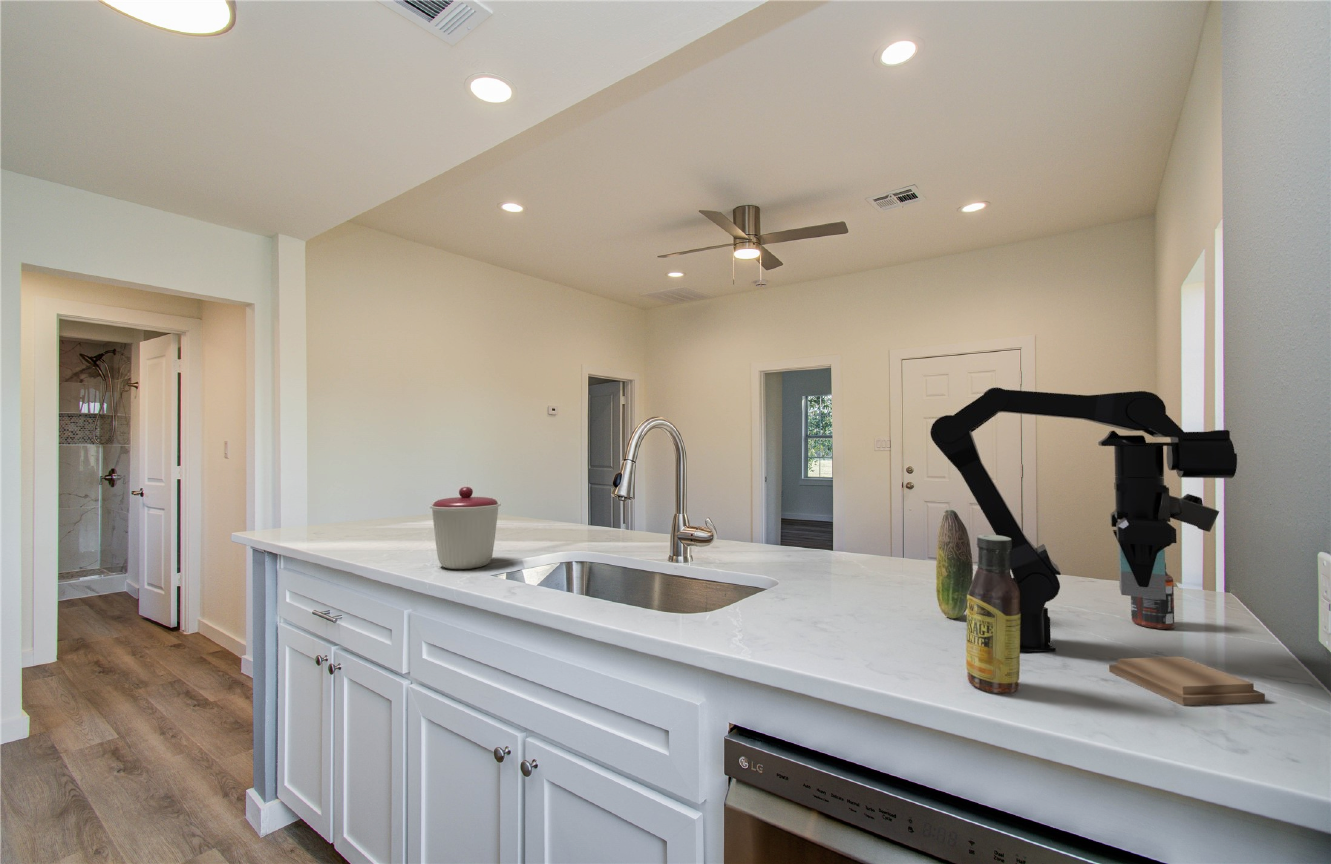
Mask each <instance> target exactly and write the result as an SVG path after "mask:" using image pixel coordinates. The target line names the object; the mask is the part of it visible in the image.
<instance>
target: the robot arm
mask: <svg viewBox="0 0 1331 864" xmlns="http://www.w3.org/2000/svg"><path fill="white" fill-rule="evenodd" d="M1166 406H1167V405H1165V402H1164V400H1162V399H1161V397H1160V396H1159V395H1157V394H1155V393H1154V392H1150V391H1146V390H1139V391H1138V390H1136V391H1135V390H1134V391H1123V392H1112V393H1111V392H1110V393H1100V394H1088V395H1087V394H1085V395H1084V394H1071V393H1062V392H1060V393H1059V392H1043V391H1033V390H1032V391H1029V390H1017V389H1004V388H1001V387H997V386H996V387H991V388H989V389H987V390H986V391H984V393H983V394H981V395H980V396H979V397H978V398H976V399H974V400H973V401H972V402H971V403H969V404H967V405H966V406H964V407H962V408H961V409H960V410H958V411H957V412H956V413H954V414H947V415H943V416H940V417H939V418H937V419H935V421H934V422H933V423H932V424H931V428H930V431H929V432H930V439H931V440H932V442H933V443H934V445H935V446H936V447H937V448H938V449H939V451H940V452H941V453H942V454H943V455H944V457H945V458H947V460H948V461H949V462H950V463H951V464H952V465H953V466H954V467H955V468H956V470H957V471H958V472H959V473H960V474H961V476H962V479H963V480H964V482H965V483H966V485H967V487H968V488H969V491H970V493H971V494H972V496H973V498H974V499H975V501H976V502H977V505H978V506H979V508H980V510H981V512H982V513H983V514H984V515H983V516H984V517H985V519H986V520H987V522H988V524H989V525H990V527H991V528H992V530H993V532H994V535H999V536H1005V537H1009V538H1011V539H1012V549H1011V551H1010V567H1011V569H1010V573H1011V575H1012V579H1013V580H1014V582H1015V583H1016V585H1017V587H1018V588H1019V593H1020V602H1019V604H1020V608H1019V611H1020V653H1021V652H1022V653H1025V652H1027V653H1028V652H1050V651H1051V652H1053V651H1054V652H1056V651H1057V647H1056V646H1054V645H1052V644H1051V643H1052V640H1051V637H1052V636H1051V633H1052V632H1051V617H1050V616H1049V608H1048V607H1046V606H1045V605H1046V603H1048V602H1051V601H1053V600H1055V598H1056V597H1057V596H1058V595H1059V591H1060V589H1061V583H1060V580H1059V577H1058V576H1061V574H1062V573H1061V571H1060V568H1059V566H1058V565H1057V564H1056V563H1055V562H1054V561H1053V560H1052V559H1051V557H1050V555H1049V552H1048V551H1047V547H1046V545H1045V543H1042V544H1040V545H1039V546H1037V547H1036V546H1035V545H1034V544H1033V543H1032V542H1031V541H1030V540H1029V538H1028V537H1027V535H1025V533H1024V531H1023V530H1022V528H1021V525H1020V523H1018V521H1017V519H1016V517H1015V516H1014V514H1013V513H1012V510H1011V509H1010V508H1009V506H1008V504H1007V502H1006V501H1005V499H1004V497H1003V495H1002V494H1001V492H1000V489H998V487H997V486H996V484H995V481H994V480H993V479H992V476H991V475H990V474H989V472H988V470H987V469H986V467H985V465H984V463H983V462H982V458H981V456H980V453H979V450H978V446H977V444H976V442H975V438H974V436H973V432H975V431H976V430H978V428H980V427H981V426H983V425H984V424H986V423H987V422H989V421H990V420H991V419H992V418H994V417H995V416H997V415H998V414H999V413H1007V414H1017V415H1018V414H1019V415H1029V416H1040V417H1051V418H1064V419H1074V420H1084V421H1088V422H1092V423H1095V424H1099V425H1103V426H1106V427H1111V428H1115V429H1119V430H1123V431H1124V430H1125V431H1128V432H1141V431H1142V432H1143V433H1145V434H1147V435H1149V436H1151V437H1153V438H1169V439H1170V441H1168V442H1166V441H1164V442H1162V441H1161V442H1147V440H1146V438H1145V436H1144V435H1143V434H1137V435H1135V434H1133V435H1132V434H1128V435H1127V434H1126V435H1122V434H1119V433H1117V432H1116V430H1109V432H1108V433H1107V434H1106V436H1104V438H1102V439H1101V440H1100V441H1098V443H1097V444H1098V446H1100V447H1113V448H1114V482H1113V490H1115V491H1114V496H1115V499H1114V500H1115V509H1114V510H1113V511H1112V512H1110V526H1111V527H1112V528H1116V529H1112V532H1113V535H1114V537H1115V538H1116V541H1117V544H1118V543H1119V544H1118V546H1119V545H1120V547H1121V549H1122V551H1123V553H1124V556H1125V558H1126V560H1127V562H1128V564H1129V566H1130V569H1131V571H1132V573H1133V575H1134V577H1135V579H1136V582H1137V584H1138V586H1140V587H1148V586H1149V583H1150V579H1151V575H1152V571H1153V568H1154V564H1155V560H1156V557H1157V554H1158V552H1160V551H1161V550H1163V549H1164V550H1165V549H1166V548H1168V547H1170V546H1172V544H1177V543H1178V542H1177V529H1176V528H1175V527H1174V526H1173V525H1171V524H1170V523H1171V519H1173V520H1176V521H1179V522H1182V523H1185V524H1188V525H1191V526H1193V527H1196V528H1197V529H1199V530H1202V531H1205V532H1209V533H1210V532H1211V530H1212V528H1213V526H1214V524H1215V523H1216V520H1217V518H1218V515H1219V513H1220V511H1219V510H1218V509H1215V508H1212V507H1209V506H1206V505H1204V502H1203V499H1202V497H1200V496H1197V495H1193V494H1190V493H1187V494H1185V495H1184V496H1182V497H1177V496H1174V495H1171V494H1170V487H1169V486H1167V485H1166V484H1165V461H1164V460H1165V457H1164V456H1165V455H1164V447H1166V465H1167V468H1168V471H1175V473H1176V475H1177V477H1178V478H1180V479H1181V478H1185V479H1187V478H1188V479H1190V478H1191V479H1195V478H1196V479H1233V478H1234V477H1235V475H1236V473H1237V469H1238V454H1237V452H1235V448H1234V444H1233V441H1232V439H1231V433H1230V432H1231V431H1230V430H1228V429H1217V430H1216V429H1215V430H1214V429H1213V430H1209V431H1184V430H1183V429H1182V428H1181V427H1180V426H1179V424H1177V423H1176V422H1175V421H1174V420H1173V419H1172V418H1171V417H1170V415H1168V414H1167V408H1166Z"/></svg>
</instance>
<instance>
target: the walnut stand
mask: <svg viewBox="0 0 1331 864" xmlns="http://www.w3.org/2000/svg"><path fill="white" fill-rule="evenodd" d="M1108 672H1110V673H1111V674H1113V675H1115V676H1118V677H1120V678H1123V679H1125V680H1126V681H1129V682H1131V683H1133V684H1136V685H1138V686H1140V687H1142V688H1144V689H1146V690H1149V691H1150V692H1153V693H1155V694H1157V695H1159V696H1161V697H1164V698H1166V699H1168V700H1170V701H1172V702H1175V703H1177V704H1179V705H1181V706H1205V705H1223V704H1225V705H1226V704H1227V705H1228V704H1246V703H1247V704H1248V703H1249V704H1250V703H1251V704H1252V703H1265V702H1266V693H1263V692H1261V691H1259V690H1255V688H1254V683H1253V682H1250V681H1247V680H1245V679H1242V678H1239V677H1237V676H1234V675H1231V674H1228V673H1226V672H1223V671H1220V670H1218V669H1216V668H1213V667H1209V666H1207V665H1204V664H1201V663H1198V662H1197V661H1193V660H1191V659H1188V658H1185V657H1183V656H1163V657H1158V656H1157V657H1136V658H1135V657H1133V658H1117V663H1115V664H1112V663H1111V664H1109V666H1108Z"/></svg>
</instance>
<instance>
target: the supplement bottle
mask: <svg viewBox="0 0 1331 864" xmlns="http://www.w3.org/2000/svg"><path fill="white" fill-rule="evenodd" d="M1165 581H1166V600H1163V599H1154V598H1145V597H1136V596H1130V611H1131V612H1130V614H1131V615H1130V616H1131V621H1132V623H1134V624H1136V625H1137V626H1141V627H1144V628H1150V629H1157V630H1158V629H1159V630H1170V629H1172V628H1174V627H1175V592H1174V591H1175V589H1174V588H1175V586H1174V579H1173V576H1171V574H1168V572H1167V564H1166V562H1165Z"/></svg>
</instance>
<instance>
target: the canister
mask: <svg viewBox="0 0 1331 864" xmlns="http://www.w3.org/2000/svg"><path fill="white" fill-rule="evenodd" d="M473 493H474V491H473V488H472V487H469V486H464V487H463V486H462V487H461V488H460V489H459V491H458V495H459V497H458V496H456V497H447V498H441V499H437V500H436V501H435V502H433V503H432V504H430V505H429V508H430V509H431V510H432V520H433V521H432V523H433V530H434V540H435V546H436V555H437V560H438V562H439V564H440V565H441V566H442V567H443V568H446V569H449V570H471V569H478V568H482V567H484V566H487V565H488V564H490V562H491V561H492V558H493V554H494V547H495V539H496V531H497V524H498V523H497V522H498V515H499V507H500V506H501V504H502V503H501V502H499V501H498V500H496V499H494V498H493V497H487V496H486V497H485V496H473Z"/></svg>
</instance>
